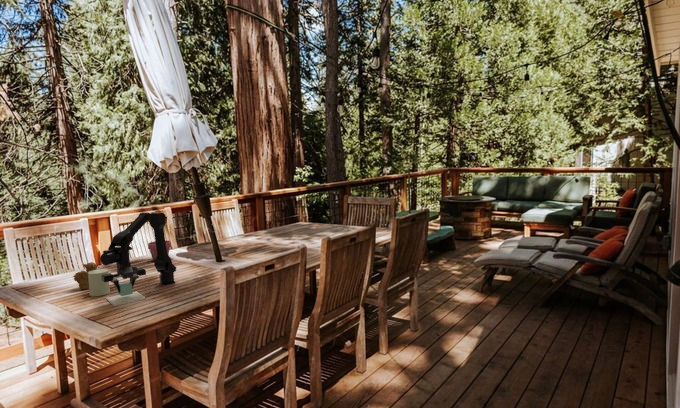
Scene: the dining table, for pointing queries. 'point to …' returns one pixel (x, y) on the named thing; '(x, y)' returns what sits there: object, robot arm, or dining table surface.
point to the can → (97, 283)
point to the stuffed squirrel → (85, 275)
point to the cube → (125, 289)
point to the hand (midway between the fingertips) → (125, 291)
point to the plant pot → (154, 251)
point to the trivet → (125, 298)
